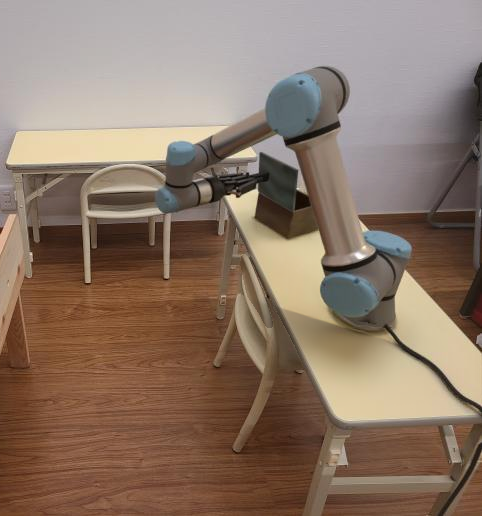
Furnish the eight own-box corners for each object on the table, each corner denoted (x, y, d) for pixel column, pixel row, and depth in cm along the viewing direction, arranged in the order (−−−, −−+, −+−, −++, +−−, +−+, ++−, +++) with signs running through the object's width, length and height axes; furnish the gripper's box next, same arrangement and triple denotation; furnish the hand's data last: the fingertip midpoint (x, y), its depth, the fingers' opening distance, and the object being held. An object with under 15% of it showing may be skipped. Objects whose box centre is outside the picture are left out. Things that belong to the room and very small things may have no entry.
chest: (283, 209, 178) (288, 184, 173) (318, 229, 166) (324, 203, 161) (254, 217, 173) (258, 192, 167) (287, 239, 160) (293, 212, 155)
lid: (261, 151, 158) (259, 152, 158) (298, 169, 146) (296, 170, 146) (259, 190, 167) (257, 191, 167) (294, 210, 155) (292, 211, 155)
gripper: (191, 194, 150) (251, 179, 160) (217, 211, 141) (279, 195, 151) (193, 171, 146) (255, 157, 156) (220, 187, 137) (284, 172, 147)
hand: (267, 175), depth 153 cm, fingers closed
